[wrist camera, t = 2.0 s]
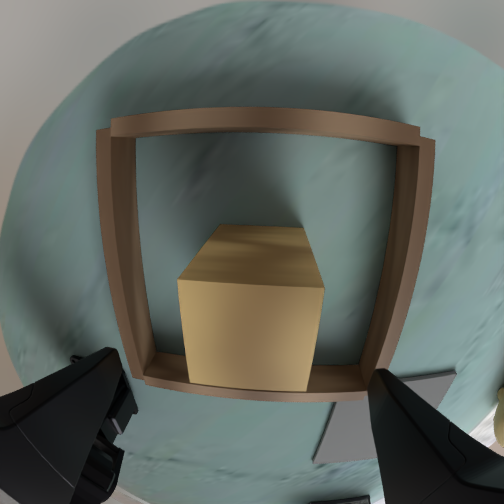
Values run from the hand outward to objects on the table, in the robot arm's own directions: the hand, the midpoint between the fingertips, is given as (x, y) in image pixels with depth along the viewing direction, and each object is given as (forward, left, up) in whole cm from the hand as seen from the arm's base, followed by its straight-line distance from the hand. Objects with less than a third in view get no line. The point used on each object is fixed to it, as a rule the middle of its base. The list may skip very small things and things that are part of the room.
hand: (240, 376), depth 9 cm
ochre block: (0, 0, -10) cm, 10 cm away
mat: (+13, -17, -10) cm, 23 cm away
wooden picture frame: (0, 0, -10) cm, 10 cm away
